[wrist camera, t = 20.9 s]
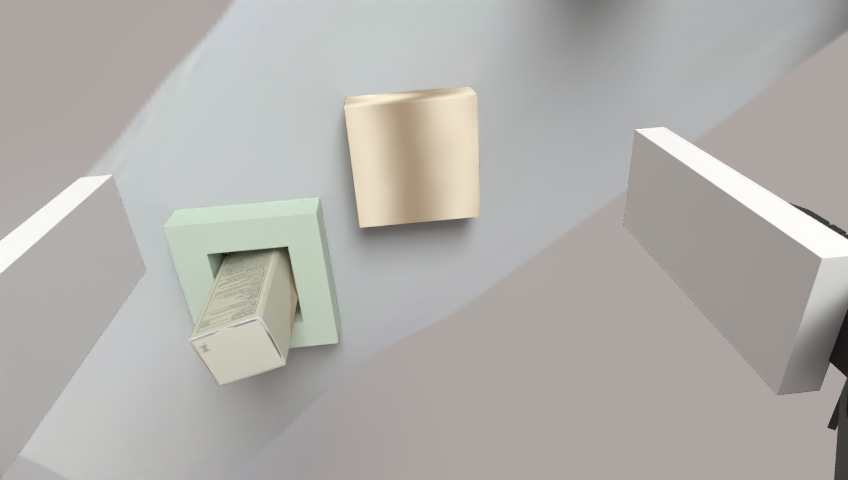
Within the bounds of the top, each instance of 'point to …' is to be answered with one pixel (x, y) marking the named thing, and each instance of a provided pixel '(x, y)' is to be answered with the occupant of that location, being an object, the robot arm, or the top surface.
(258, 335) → the box
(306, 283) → the socket
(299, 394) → the top surface
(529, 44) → the top surface
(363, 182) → the stand
